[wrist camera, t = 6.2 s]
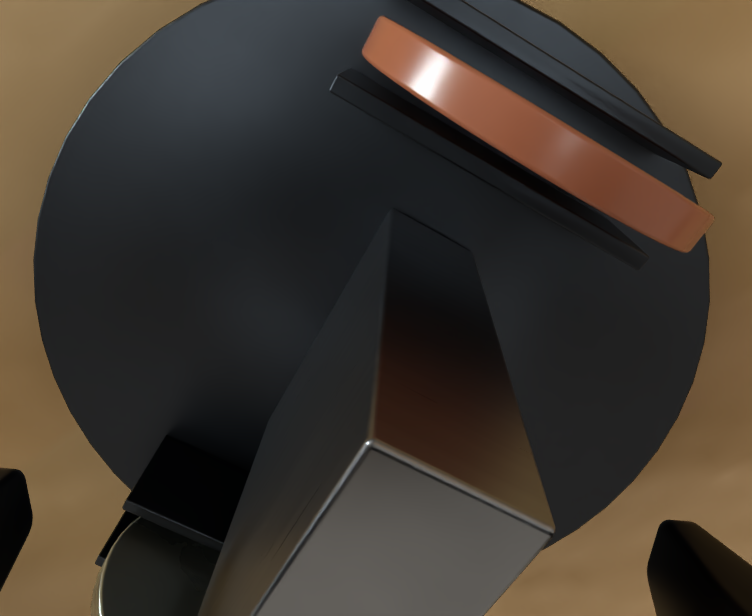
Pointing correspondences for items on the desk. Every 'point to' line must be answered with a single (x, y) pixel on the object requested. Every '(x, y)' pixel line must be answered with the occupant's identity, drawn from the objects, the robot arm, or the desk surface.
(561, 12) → the desk surface
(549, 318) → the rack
